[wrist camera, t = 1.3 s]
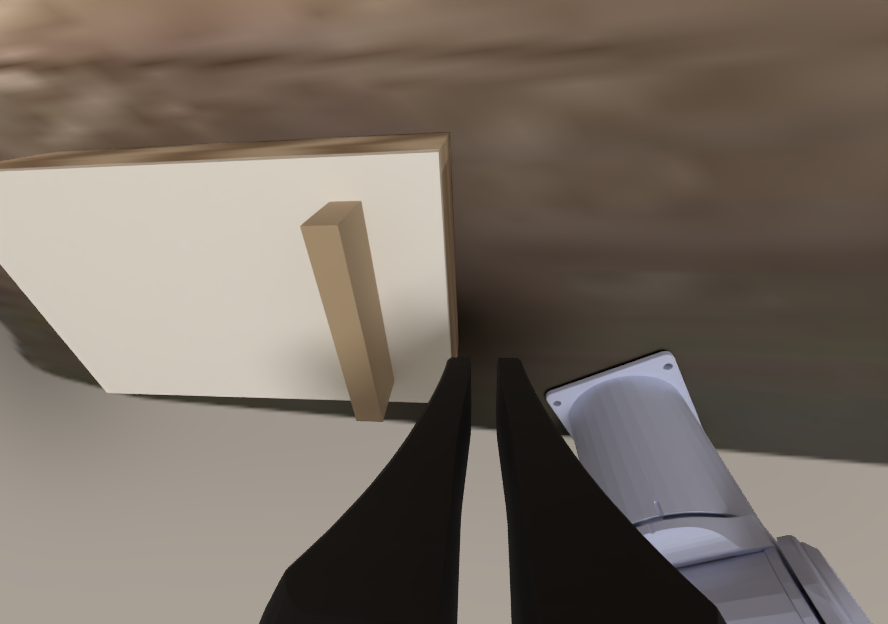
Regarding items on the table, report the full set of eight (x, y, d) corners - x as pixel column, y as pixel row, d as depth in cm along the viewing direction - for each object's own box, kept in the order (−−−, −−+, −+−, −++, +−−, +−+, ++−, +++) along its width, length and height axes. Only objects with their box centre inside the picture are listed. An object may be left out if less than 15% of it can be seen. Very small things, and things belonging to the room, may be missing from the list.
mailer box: (449, 132, 16) (440, 149, 12) (458, 342, 22) (454, 394, 19) (55, 151, 18) (-55, 171, 14) (170, 339, 24) (115, 385, 21)
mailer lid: (439, 149, 12) (429, 168, 9) (453, 396, 19) (449, 445, 16) (-58, 171, 14) (-174, 192, 12) (114, 386, 21) (64, 429, 18)
